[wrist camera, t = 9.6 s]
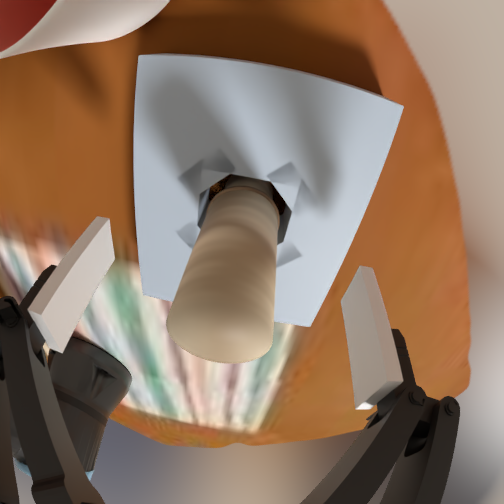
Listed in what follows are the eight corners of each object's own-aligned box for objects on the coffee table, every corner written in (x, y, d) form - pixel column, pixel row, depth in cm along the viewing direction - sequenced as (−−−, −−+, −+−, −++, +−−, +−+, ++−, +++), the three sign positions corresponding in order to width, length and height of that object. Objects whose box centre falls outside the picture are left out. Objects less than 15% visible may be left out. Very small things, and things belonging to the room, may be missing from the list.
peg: (214, 212, 22) (166, 352, 12) (221, 158, 19) (161, 286, 10) (272, 223, 22) (262, 370, 13) (286, 170, 19) (288, 311, 10)
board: (156, 267, 26) (143, 294, 23) (162, 53, 15) (138, 55, 12) (308, 296, 26) (309, 326, 24) (383, 96, 15) (403, 106, 12)
